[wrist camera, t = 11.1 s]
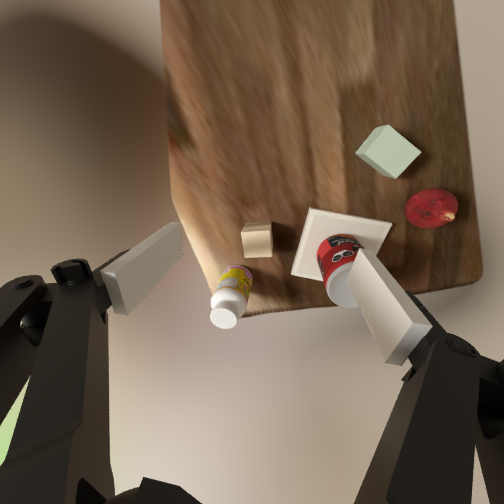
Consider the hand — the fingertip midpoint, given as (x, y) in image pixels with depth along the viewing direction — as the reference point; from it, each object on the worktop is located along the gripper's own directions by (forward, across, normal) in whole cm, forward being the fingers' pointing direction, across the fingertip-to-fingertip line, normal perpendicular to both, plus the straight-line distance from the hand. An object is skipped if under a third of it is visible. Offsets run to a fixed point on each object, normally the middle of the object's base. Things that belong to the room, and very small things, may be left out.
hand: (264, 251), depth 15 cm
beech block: (+23, -2, -9) cm, 25 cm away
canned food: (+22, +13, -10) cm, 27 cm away
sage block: (+24, +15, +7) cm, 29 cm away
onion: (+24, +23, 0) cm, 33 cm away
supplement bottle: (+23, -6, -20) cm, 31 cm away
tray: (+23, +13, -10) cm, 28 cm away
